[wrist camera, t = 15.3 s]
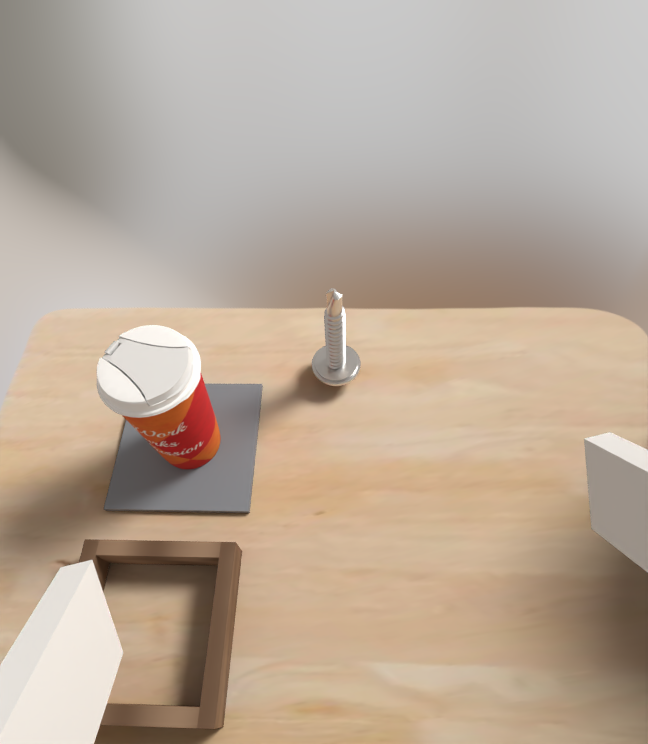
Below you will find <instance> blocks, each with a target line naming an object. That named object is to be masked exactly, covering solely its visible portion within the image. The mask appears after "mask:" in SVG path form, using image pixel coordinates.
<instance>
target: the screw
mask: <svg viewBox="0 0 648 744" xmlns="http://www.w3.org/2000/svg"><path fill="white" fill-rule="evenodd" d="M326 294H327V309H326V310H325V316H324V319H325V320H324V323H325V339H326V341H325V342H326V346H324V347H322V348H321V349H319V350H318V351H317V352H316V354H315V355H314V357H313V359H312V370H313V373H314V375H315V376H316V378H317V379H318V380H319V381H321V382H322V383H324V384H327V385H330V386H342V385H345V384H348V383H350V382H351V381H353V380H354V379H355V378H356V377H357V375H358V373H359V371H360V358H359V356H358V354H357V353H356V352H355V351H354V350H353V349H352V348H351V347H349V346H346V345H345V344H346V342H345V340H346V338H345V336H346V334H345V333H346V330H345V329H346V326H345V325H346V322H345V321H346V318H345V310H344V307H343V306H342V295H341V294H339V293H337V291H336V289H330V290H328V292H327V293H326Z"/></svg>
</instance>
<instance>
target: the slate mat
mask: <svg viewBox="0 0 648 744" xmlns="http://www.w3.org/2000/svg"><path fill="white" fill-rule="evenodd" d="M205 387H206V390H207V393H208V396H209V399H210V402H211V405H212V408H213V411H214V414H215V417H216V420H217V424H218V427H219V431H220V438H221V440H220V446H219V449H218V451H217V453H216V455H215V456H214V457H213V458H212V459H211V460H210V461H209V462H208V463H206V464H205V465H203V466H201V467H198V468H195V469H180V468H177V467H175V466H173V465H171V464H170V463H169V462H168V461H166V460H165V459H164V458H163V457H162V456H161V455H160V454H159V453H158V452H157V451H156V450H155V449H154V448H153V447H152V446H151V445H150V444H149V443H148V442H147V441H146V440H145V439H144V437H143V436H142V435H141V434H140V433H139V432H138V431H137V430H136V429H135V428H134V427H133V426H132V425H131V424H130V423H129V422H128V421H127V420H126V423H125V427H124V431H123V435H122V438H121V442H120V446H119V450H118V454H117V458H116V462H115V466H114V470H113V474H112V478H111V482H110V486H109V490H108V493H107V497H106V501H105V505H104V510H106V511H157V512H219V513H250V503H251V494H252V484H253V474H254V465H255V455H256V445H257V436H258V426H259V416H260V407H261V397H262V387H263V386H262V384H205Z"/></svg>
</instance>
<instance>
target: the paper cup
mask: <svg viewBox="0 0 648 744" xmlns="http://www.w3.org/2000/svg"><path fill="white" fill-rule="evenodd" d="M105 353H106V354H105V355H104V356H103V357H102V358H103V359H102V358H100V359H99V362H98V366H97V389H98V393H99V395H100V398H101V399H102V401H103V402H104V403H105V405H106V406H108V407H109V408H110V409H111V410H113V411H114V412H116V413H118V414H121V415H122V416H123V417H124V418H125V419H126V420H127V421H128V422H129V423H130V424H131V425H132V426H133V427H134V428H135V429H136V430H137V431H138V432H139V433H140V434H141V435H142V436H143V437H144V439H145V440H146V441H147V442H148V443H149V444H150V445H151V446H152V447H153V448H154V449H155V450H156V451H157V452H158V453H159V454H160V455H161V456H162V457H163V458H164V459H165V460H166V461H168V462H169V463H170V464H171V465H173V466H175V467H177V468H180V469H195V468H198V467H201V466H203V465H205V464H206V463H208V462H209V461H210V460H211V459H212V458H213V457H214V456H215V455H216V453H217V451H218V449H219V446H220V440H221V438H220V431H219V427H218V424H217V420H216V417H215V414H214V411H213V408H212V405H211V402H210V399H209V396H208V393H207V390H206V387H205V384H204V381H203V378H202V375H201V361H200V356H199V353H198V350H197V349H196V347H195V345H194V344H193V343H192V342H191V341H190V340H189V339H188V338H186V337H185V336H183V335H181V334H179V333H178V332H177V331H175V330H173V329H171V328H168V327H164V326H159V325H147V326H141V327H137V328H134V329H131V330H129V331H126V332H124V333H123V334H121V335H119V339H118V340H117V341H114V342H113V343H112V344H111V345H110V346H109V348H108V349H107V350H106V351H105Z"/></svg>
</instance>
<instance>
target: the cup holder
mask: <svg viewBox="0 0 648 744" xmlns="http://www.w3.org/2000/svg"><path fill="white" fill-rule="evenodd" d="M241 556H242V550H241V549H240V548H239V546H238V545H237V543H236V542H190V541H137V540H85V541H84V545H83V549H82V553H81V556H80V560H79V563H80V562H84V561H89V560H93V563H94V566H95V569H96V572H97V575H98V578H99V581H100V584H101V587H102V590H104V586H105V582H106V578H107V573H108V569H109V565H110V563H122V564H170V565H218V569H217V577H216V585H215V593H214V600H213V608H212V616H211V624H210V631H209V639H208V647H207V655H206V662H205V670H204V678H203V686H202V693H201V701H200V706H172V705H141V704H111V703H107V705H106V708H105V711H104V714H103V717H102V720H101V723H100V725H116V726H145V727H173V728H202V729H216V728H221V727H223V725H224V715H225V706H226V697H227V687H228V678H229V669H230V659H231V650H232V641H233V631H234V622H235V612H236V603H237V594H238V584H239V575H240V566H241Z"/></svg>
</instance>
